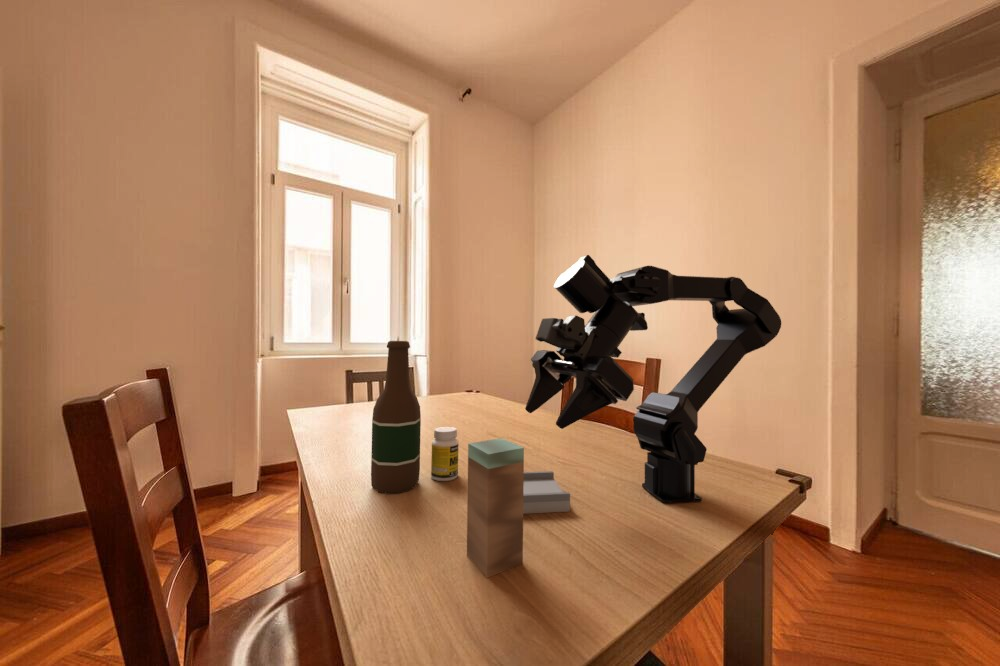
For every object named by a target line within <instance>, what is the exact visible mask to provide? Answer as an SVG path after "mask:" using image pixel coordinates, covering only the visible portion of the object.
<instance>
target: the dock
mask: <svg viewBox="0 0 1000 666" xmlns="http://www.w3.org/2000/svg"><path fill="white" fill-rule="evenodd" d="M554 473H555V472H554V470H547V471H546V470H544V471H543V470H542V471H524V486H523V515H524V514H525V515H526V514H543V513H546V514H547V513H563V512H564V513H565V512H570V511H571V493H570V491H564V490H563V489H562V488H561V486H560V485H559V483H558V482H557V481H556V480H555V477H554V476H555V475H554Z"/></svg>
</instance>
